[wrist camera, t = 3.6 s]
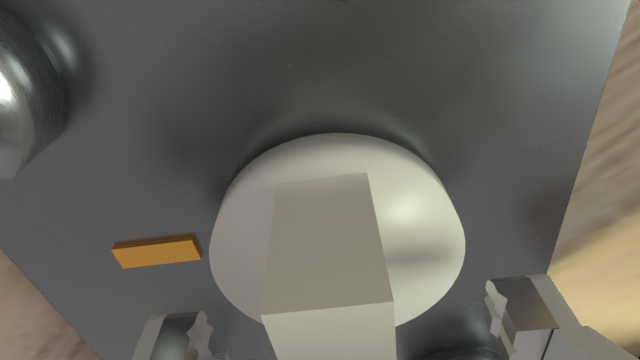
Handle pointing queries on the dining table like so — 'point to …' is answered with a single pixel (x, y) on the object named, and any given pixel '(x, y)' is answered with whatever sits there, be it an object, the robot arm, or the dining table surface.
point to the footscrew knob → (336, 245)
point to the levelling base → (281, 140)
